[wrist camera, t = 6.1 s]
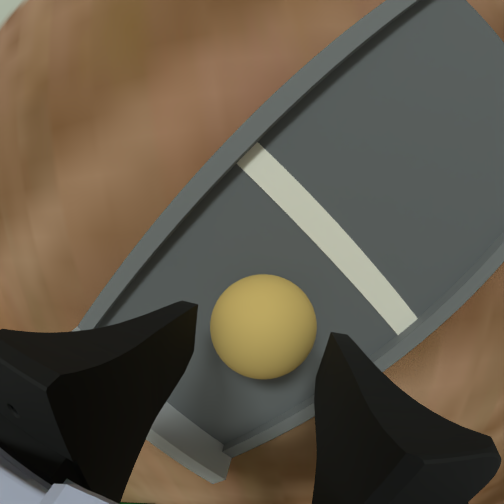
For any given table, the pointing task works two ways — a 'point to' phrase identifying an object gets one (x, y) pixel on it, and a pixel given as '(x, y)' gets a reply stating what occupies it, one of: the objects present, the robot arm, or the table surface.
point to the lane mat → (332, 217)
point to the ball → (263, 326)
